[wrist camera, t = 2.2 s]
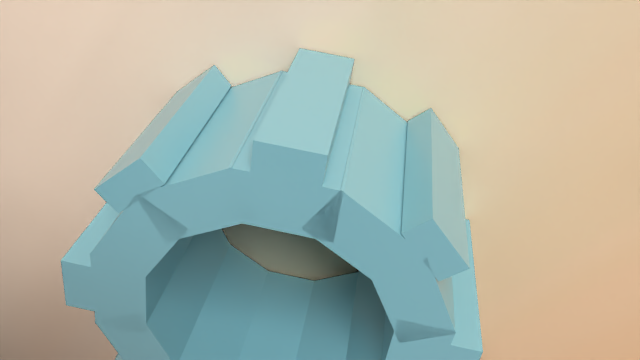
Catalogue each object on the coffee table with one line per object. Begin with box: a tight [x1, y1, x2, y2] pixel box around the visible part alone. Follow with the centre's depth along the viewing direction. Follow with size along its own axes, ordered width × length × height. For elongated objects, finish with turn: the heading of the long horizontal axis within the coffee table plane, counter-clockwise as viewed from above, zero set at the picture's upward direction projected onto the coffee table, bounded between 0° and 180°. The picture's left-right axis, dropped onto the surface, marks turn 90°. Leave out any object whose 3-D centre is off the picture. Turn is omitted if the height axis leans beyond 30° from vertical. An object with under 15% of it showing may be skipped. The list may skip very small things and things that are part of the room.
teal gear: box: [61, 48, 483, 360], centre depth 11 cm, size 7×7×4 cm
